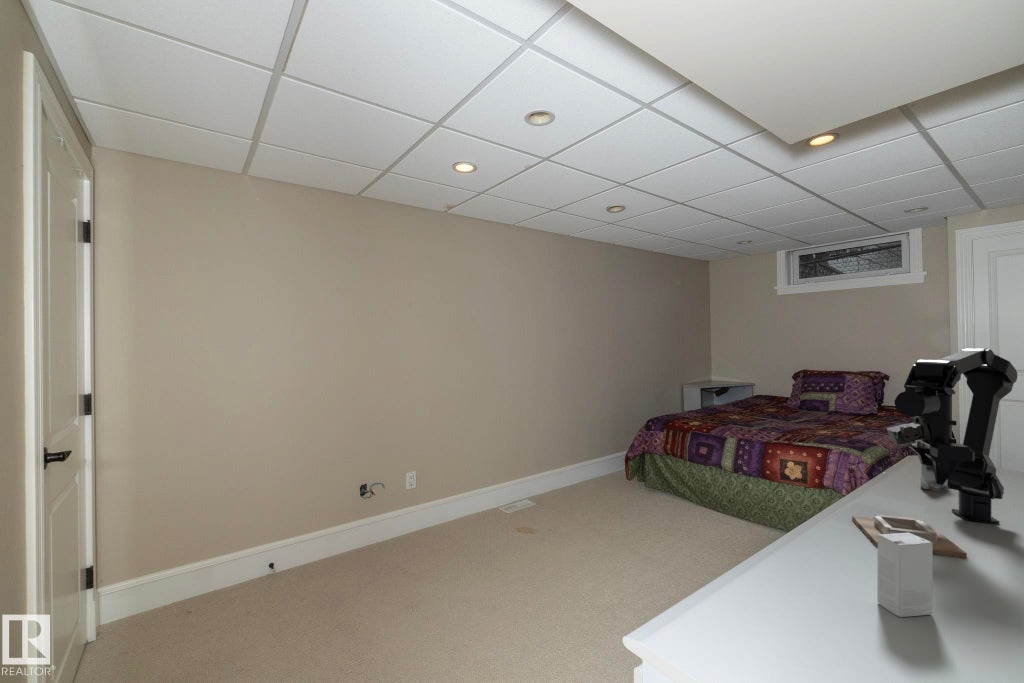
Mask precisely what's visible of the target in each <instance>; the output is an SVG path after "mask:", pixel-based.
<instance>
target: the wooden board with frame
mask: <svg viewBox="0 0 1024 683" xmlns="http://www.w3.org/2000/svg"><path fill="white" fill-rule="evenodd" d="M851 517H852V518H851V520H852V521H853V523H854V524H855V525H856V526H857V527H858V528H859V529H860V530H861V531H862V533H864V535H865V536H866V537H867V539H869V541H870V542H872V544H873V545H874V546H875V547H877V548H878V535H879V534H895V533H911V534H914V535H916V536H918V537H921V538H923V539H925V540H928V541H930V542H932V544H933V553H932V554H933V555H939V556H946V557H954V558H955V557H956V558H963V559H967V558H968V557H967V552H966V551H964V550H963V549H962V548H960V547H959V546H958V545H957V544H956V543H954V542H953V541H952V540H950V539H949V538H948V537H947V536H945V535H944V534H943V533H941V532H940V531H939V530H937V529H936V528H935V527H933V526H932V525H931V524H930V523H925V522H924V521H922V520H918V519H917V518H913V517H912V518H911V517H903V516H895V515H885V514H878V513H877V514H874V517H865V516H857V515H852V516H851Z"/></svg>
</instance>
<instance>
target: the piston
mask: <svg viewBox="0 0 1024 683" xmlns="http://www.w3.org/2000/svg"><path fill="white" fill-rule="evenodd" d="M920 464H921V463H920ZM920 467H921V469H920V470H921V471H920V487H921V486H922V487H923V488H926V489H930V490H929V491H937V492H947V491H948V490H949V489H948V479H947V480H946V482H945V483H944V484H943V485H938V484H937V483H936V479H935V474H934V468H933V464H921V466H920Z"/></svg>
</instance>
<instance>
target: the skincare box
mask: <svg viewBox="0 0 1024 683" xmlns="http://www.w3.org/2000/svg"><path fill="white" fill-rule="evenodd" d="M932 553H933V544H932V542H930V541H928V540H925V539H923V538H921V537H918V536H916V535H914V534H911V533H895V534H879V535H878V547H877V577H876V578H877V588H876V589H877V597H876V598H877V600H876V601H877V604H879V605H880V606H882V607H883V608H884V609H886V610H887V611H888V612H890V613H892V614H894V615H895V616H897V617H898V618H906V617H916V616H918V617H919V616H928V615H933V562H934V561H933V557H934V556H933V555H934V554H932Z"/></svg>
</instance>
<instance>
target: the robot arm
mask: <svg viewBox="0 0 1024 683" xmlns="http://www.w3.org/2000/svg"><path fill="white" fill-rule="evenodd" d="M962 375H963V376H964V377H965V378H966V385H967V386H968V389H969V390H970V391H971V393H972V399H971V402H970V407H969V413H968V418H967V422H966V428H965V431H964V437H963V441H962V443H957V438H954V437H953V435H952V434H953V426H957V420H954V419H953V395H956V391H955V389H954V388H955V387H956V385H957V383H959V382H960V381H961V379H962V377H961V376H962ZM905 380H906V381H905V383H904V384H903V388H904V391H902V392H899V394H897V396H896V398H895V399H894V406H895V409H896V410H897V411H898V413H900V414H901V415H903V416H905V417H910V418H912V417H913V418H912V422H910V423H903V424H899V425H895V426H890V427H887V428H886V431H887V433H888V435H889V438H890V441H891V442H893V443H895V444H896V445H906V444H908V445H907V447H909V449H911V450H913V451H914V452H915V453H916V454H917V457H918V459H919V462H920V464H933V468H934V474H935V479H936V483H937V484H938V485H943V484H944V483H945V482H946V480H947V479H948V490H954V491H958V509H957V508H951V512H952V513H954V514H955V515H957V516H958V517H960V518H962V519H963V520H964V521H972V522H979V523H980V522H981V523H989V524H1000V523H1001V522H1000V521H999V520H998V519H997V518H994V517H993V516H992V513H993V512H992V500H995V499H997V500H1002V499H1003V496H1004V494H1005V493H1004V491H1005V490H1004V485H1003V484H1002V483H1001V480H1000V479H999V478H998V476H997V468H996V466H995V464H994V462H993V460H992V459H991V457H990V451H991V448H992V442H993V438H994V431H995V426H996V421H997V416H998V411H999V406H1000V401H1001V400H1002V399H1004V397H1006V396H1007V395H1009V394H1010V393H1012V391H1013V386H1014V384H1015V383H1016V382H1017V380H1018V371H1017V369H1016V368H1015V367H1014V365H1013V364H1012V362H1011V361H1010V360H1008V359H1005V358H1003V357H1001V356H1000V355H997V354H995V352H994V351H993V350H992V349H988V348H985V347H984V348H983V347H982V348H981V347H980V348H979V347H978V348H977V347H966V348H962V349H961V351H958V352H956V353H953V354H949V355H947V356H945V357H941V358H936V359H935V358H934V359H933V358H926V359H923V358H922V359H918V360H917V361H915V362H914V364H913V365H912V366H911V369H910V370H909V374H908V375H907V378H906V379H905ZM909 443H911V444H909Z"/></svg>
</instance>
